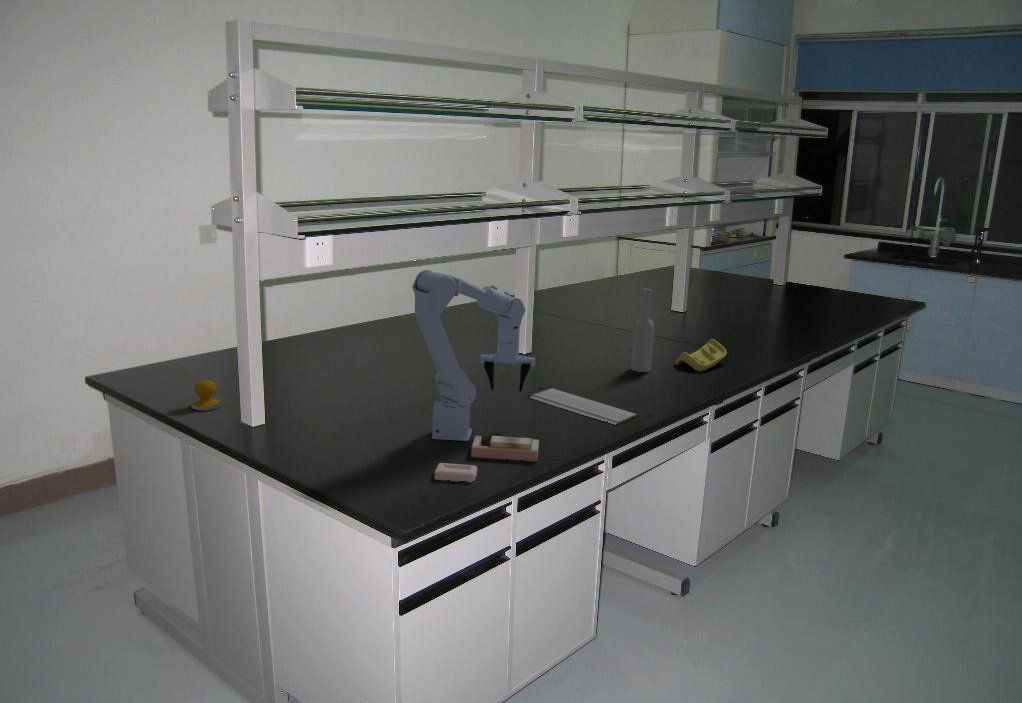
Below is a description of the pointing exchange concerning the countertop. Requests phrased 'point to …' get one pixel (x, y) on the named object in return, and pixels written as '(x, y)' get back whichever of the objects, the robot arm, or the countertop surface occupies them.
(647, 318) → the bottle
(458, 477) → the soap bar
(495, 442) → the slat block
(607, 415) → the baseboard molding
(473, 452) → the block with end panels
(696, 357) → the plastic component
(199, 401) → the doorknob
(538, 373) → the countertop surface
